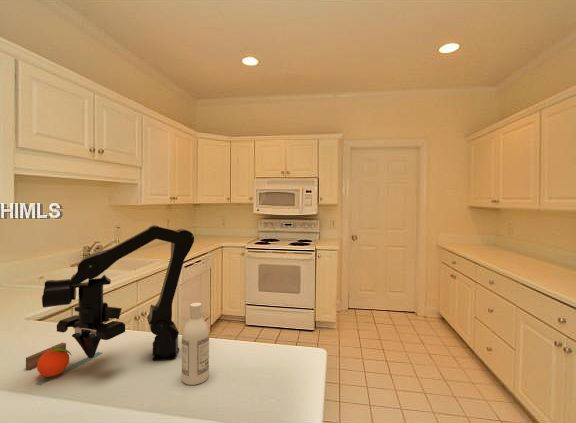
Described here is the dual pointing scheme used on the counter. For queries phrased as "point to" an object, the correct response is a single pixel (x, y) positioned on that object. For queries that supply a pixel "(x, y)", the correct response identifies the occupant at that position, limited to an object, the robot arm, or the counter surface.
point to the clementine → (53, 362)
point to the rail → (33, 359)
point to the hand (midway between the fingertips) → (91, 357)
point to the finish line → (68, 369)
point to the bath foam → (195, 348)
